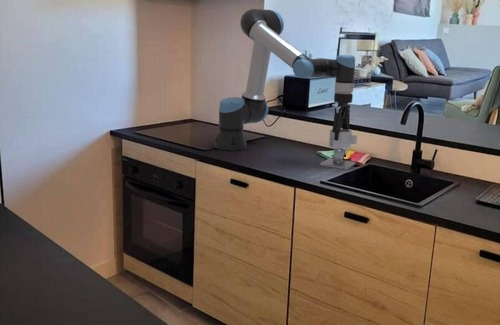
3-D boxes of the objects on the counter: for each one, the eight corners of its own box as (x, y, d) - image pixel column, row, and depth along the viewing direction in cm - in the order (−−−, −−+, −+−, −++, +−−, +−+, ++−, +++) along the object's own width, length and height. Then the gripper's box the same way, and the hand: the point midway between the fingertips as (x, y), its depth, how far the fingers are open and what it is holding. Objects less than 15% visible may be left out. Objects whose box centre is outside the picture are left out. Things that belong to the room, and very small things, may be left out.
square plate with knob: (319, 165, 223) (321, 149, 221) (329, 159, 233) (330, 145, 232) (346, 169, 218) (348, 153, 216) (355, 163, 228) (356, 148, 226)
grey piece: (327, 146, 222) (328, 130, 220) (333, 143, 229) (334, 127, 227) (352, 150, 217) (353, 133, 215) (358, 146, 224) (359, 130, 222)
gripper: (344, 95, 207) (340, 151, 213) (359, 91, 225) (355, 142, 231) (326, 94, 210) (322, 149, 216) (343, 90, 229) (339, 140, 234)
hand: (339, 145), depth 223 cm, fingers closed on grey piece, 8 cm apart
